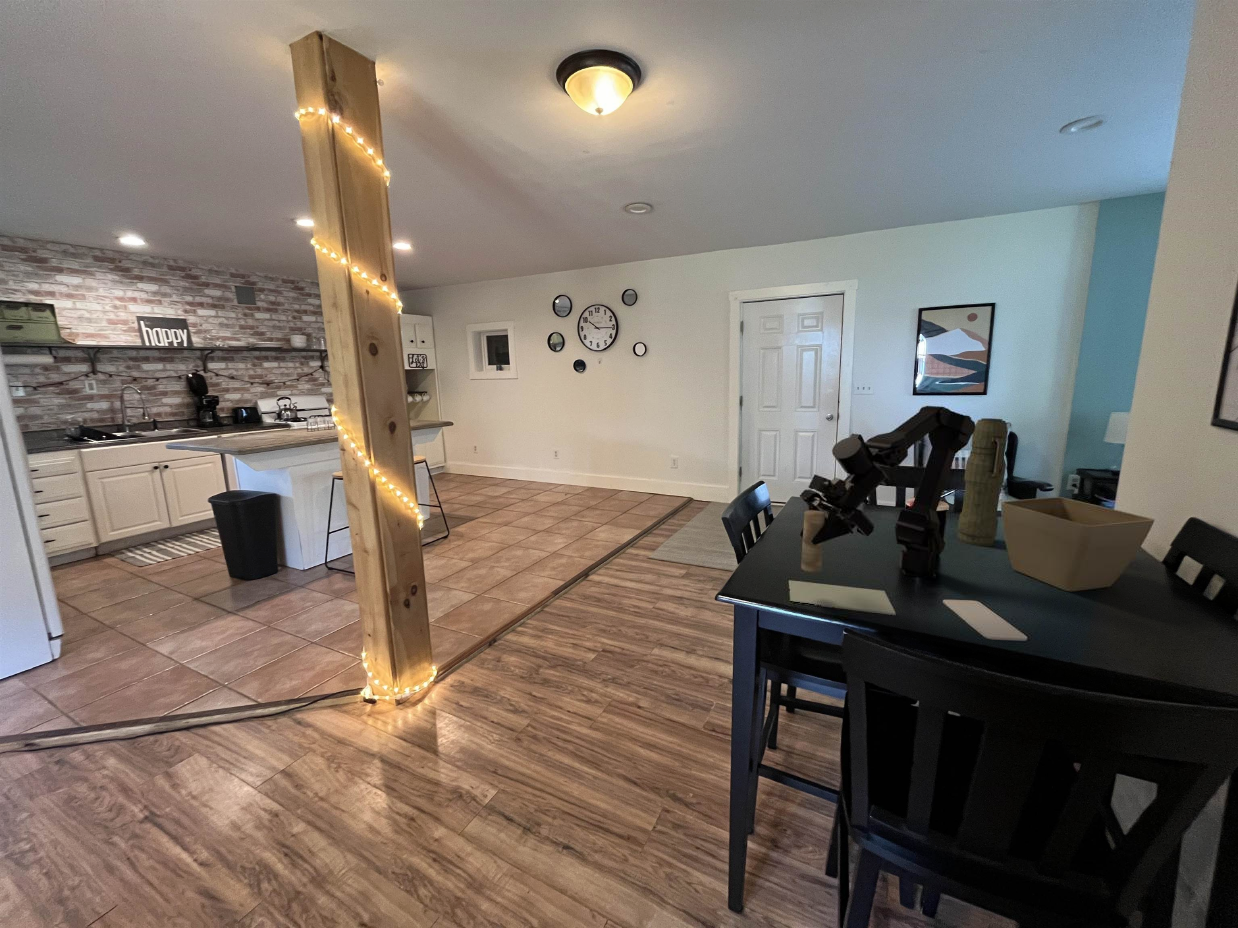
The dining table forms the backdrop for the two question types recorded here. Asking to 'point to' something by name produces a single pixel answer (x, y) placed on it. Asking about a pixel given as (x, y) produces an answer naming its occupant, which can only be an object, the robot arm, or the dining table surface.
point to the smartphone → (984, 620)
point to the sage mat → (841, 597)
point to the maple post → (809, 550)
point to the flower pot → (1071, 541)
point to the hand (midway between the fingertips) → (807, 539)
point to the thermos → (983, 483)
